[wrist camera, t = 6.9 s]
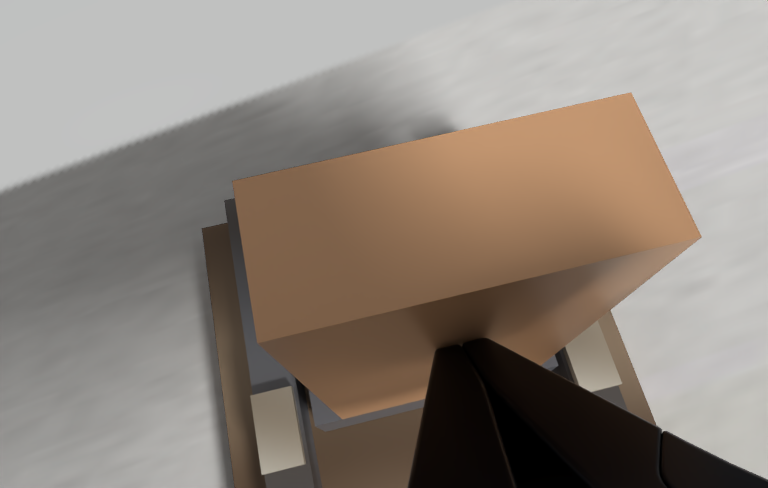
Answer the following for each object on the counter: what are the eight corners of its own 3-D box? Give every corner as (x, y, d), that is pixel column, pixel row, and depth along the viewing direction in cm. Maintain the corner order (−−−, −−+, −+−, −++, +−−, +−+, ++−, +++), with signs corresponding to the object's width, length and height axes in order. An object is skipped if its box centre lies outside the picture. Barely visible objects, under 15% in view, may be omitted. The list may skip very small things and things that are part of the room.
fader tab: (541, 377, 17) (760, 223, 6) (325, 432, 16) (191, 359, 6) (480, 198, 19) (571, -131, 9) (289, 241, 18) (147, -47, 8)
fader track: (772, 779, 14) (871, 861, 11) (306, 918, 14) (278, 1045, 11) (537, 171, 21) (559, 120, 18) (215, 245, 20) (182, 204, 17)
